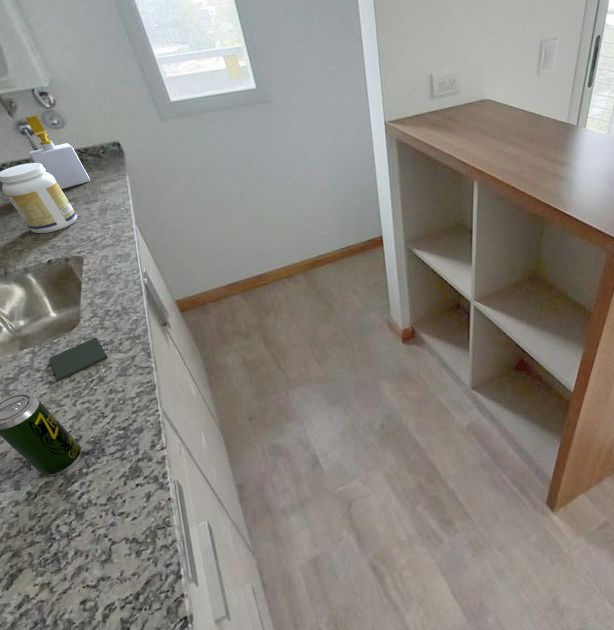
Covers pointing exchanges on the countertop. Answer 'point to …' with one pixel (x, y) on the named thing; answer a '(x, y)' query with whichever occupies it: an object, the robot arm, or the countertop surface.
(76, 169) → the soap bottle
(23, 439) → the beer can
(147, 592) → the countertop surface
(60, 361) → the coaster
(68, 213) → the supplement tub
